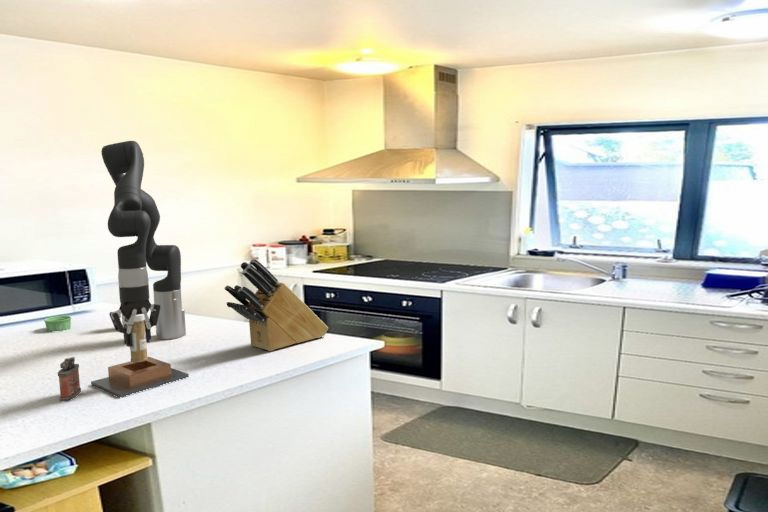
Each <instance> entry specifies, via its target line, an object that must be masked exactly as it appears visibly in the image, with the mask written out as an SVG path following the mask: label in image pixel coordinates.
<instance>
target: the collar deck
mask: <svg viewBox="0 0 768 512" xmlns="http://www.w3.org/2000/svg"><path fill="white" fill-rule="evenodd" d="M147 357H148V359H147V360H146V361H144V362H139V363H134V362H131V360H129V361H126V362H122V363H117V364H114V365H110V366H107V373H108V374H107V375H108V376H106V377H103V378H100V379H96V380H91V381H90V385H91V386H92V387H94V386H95V387H94V388H96V387H97V388H96V389H98V388H99V389H98V390H101V391H103V390H104V391H103V392H105V391H106V392H105V393H107V392H108V393H107V394H109V393H110V395H111V394H112V396H114V395H115V396H114V397H116V396H117V397H116V398H118V397H119V398H118V399H121V398H120V397H122V398H124V397H123V396H125V397H127V396H126V395H129V396H131V395H130V394H132V393H135V394H137V393H136V392H138V393H140V392H139V391H142V392H144V391H143V390H145V391H147V390H146V389H148V390H150V389H149V388H152V389H154V388H153V387H155V388H158V387H161V386H160V385H162V386H164V385H163V384H165V385H167V384H166V383H168V384H170V383H169V382H171V383H174V382H173V381H175V382H177V381H176V380H178V381H180V380H179V379H181V380H184V379H183V378H185V379H187V378H186V377H188V378H189V373H187V372H184V371H181V370H178V369H175V368H173V367H172V364H171V363H168V362H166V361H163V360H160V359H157V358H155V357H154V358H153V357H151V356H147ZM157 386H158V387H157ZM132 395H133V394H132Z"/></svg>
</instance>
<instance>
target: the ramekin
mask: <svg viewBox="0 0 768 512" xmlns="http://www.w3.org/2000/svg"><path fill="white" fill-rule="evenodd" d="M71 321H72V316H70V315H57V316H51V317H47V318H45V319H44V323H45V327H46V329H45V330H46V331H47V332H49V331H59V332H64V331H63V330H65V331H67V329H68V330H69V329H71V325H72V324H71V323H72V322H71Z"/></svg>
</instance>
